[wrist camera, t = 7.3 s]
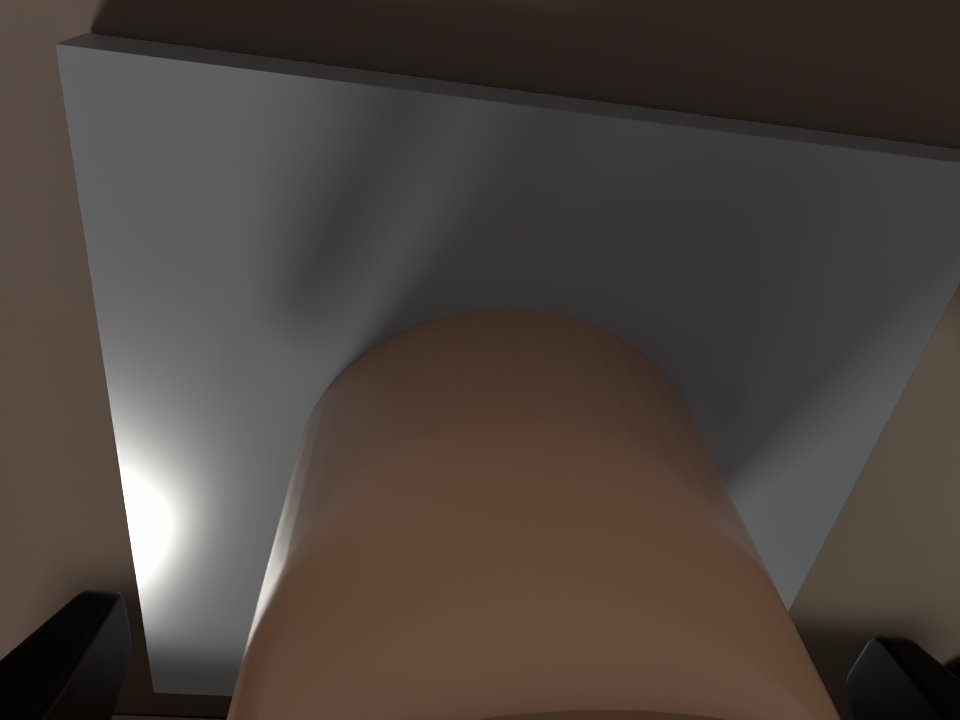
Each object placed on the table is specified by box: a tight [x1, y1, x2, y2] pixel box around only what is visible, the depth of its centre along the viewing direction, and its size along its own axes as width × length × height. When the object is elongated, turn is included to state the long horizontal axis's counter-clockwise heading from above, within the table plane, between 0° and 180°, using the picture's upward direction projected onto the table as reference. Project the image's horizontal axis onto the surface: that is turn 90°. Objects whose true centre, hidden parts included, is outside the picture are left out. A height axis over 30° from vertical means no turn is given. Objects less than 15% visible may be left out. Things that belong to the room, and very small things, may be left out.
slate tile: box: [55, 33, 960, 696], centre depth 11 cm, size 11×11×1 cm
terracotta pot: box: [226, 309, 841, 720], centre depth 8 cm, size 7×7×7 cm
